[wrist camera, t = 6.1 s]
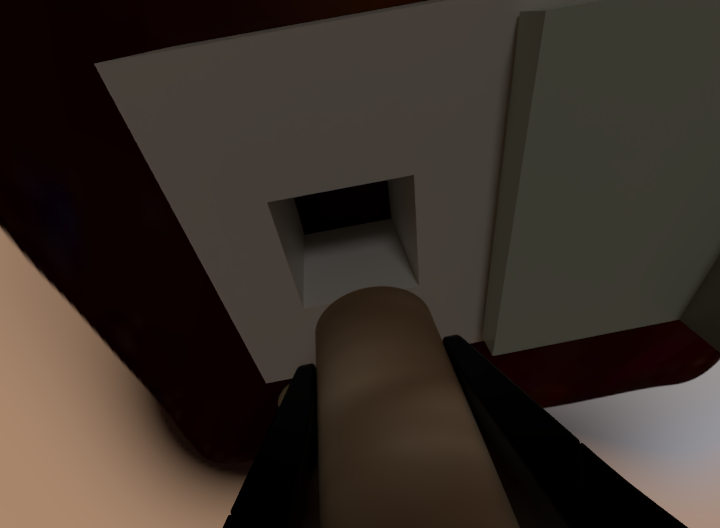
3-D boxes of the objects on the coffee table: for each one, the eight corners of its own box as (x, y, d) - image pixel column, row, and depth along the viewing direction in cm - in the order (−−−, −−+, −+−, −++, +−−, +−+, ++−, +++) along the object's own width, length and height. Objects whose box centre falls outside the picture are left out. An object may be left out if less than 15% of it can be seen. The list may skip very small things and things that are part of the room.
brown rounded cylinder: (430, 275, 9) (554, 534, 4) (432, 356, 11) (518, 589, 6) (302, 300, 9) (296, 588, 4) (328, 376, 11) (343, 625, 6)
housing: (711, -51, 14) (932, -87, 9) (606, 238, 22) (690, 300, 17) (171, 46, 13) (94, 63, 8) (275, 302, 22) (266, 383, 17)
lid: (903, -58, 9) (1140, -88, 6) (687, 296, 17) (755, 346, 14) (520, 11, 9) (606, 9, 6) (482, 336, 17) (513, 394, 14)
